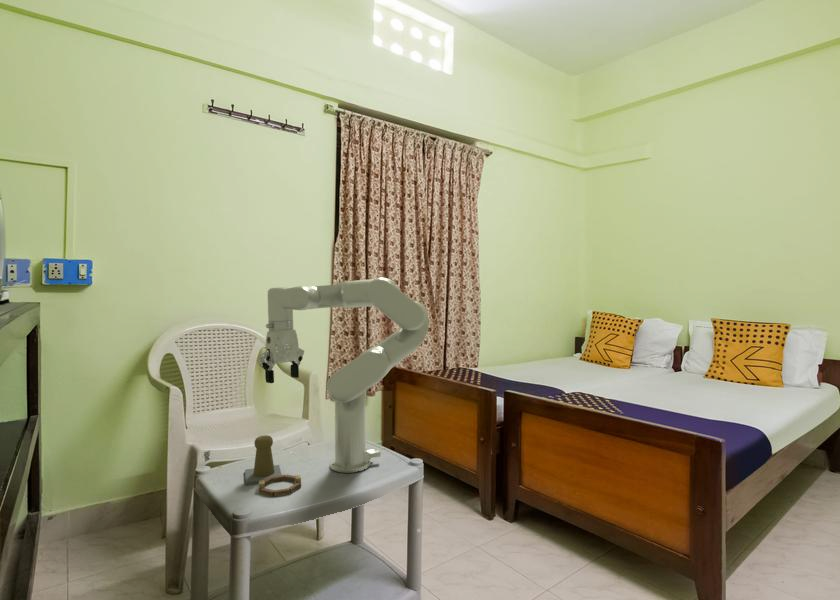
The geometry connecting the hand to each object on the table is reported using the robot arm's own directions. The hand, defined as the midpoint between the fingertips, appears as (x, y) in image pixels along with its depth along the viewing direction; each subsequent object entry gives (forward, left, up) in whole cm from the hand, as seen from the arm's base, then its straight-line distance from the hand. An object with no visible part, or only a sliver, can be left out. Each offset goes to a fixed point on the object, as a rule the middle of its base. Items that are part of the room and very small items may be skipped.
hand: (282, 379), depth 145 cm
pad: (+7, +8, -27) cm, 29 cm away
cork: (+6, +8, -26) cm, 28 cm away
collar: (+3, +18, -27) cm, 32 cm away
